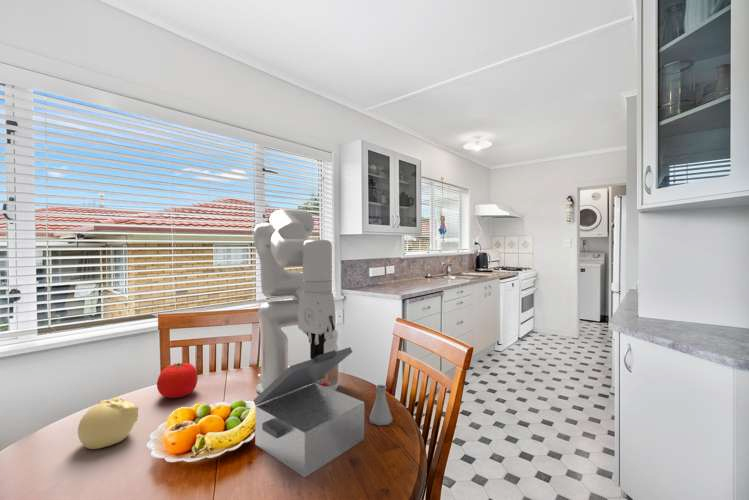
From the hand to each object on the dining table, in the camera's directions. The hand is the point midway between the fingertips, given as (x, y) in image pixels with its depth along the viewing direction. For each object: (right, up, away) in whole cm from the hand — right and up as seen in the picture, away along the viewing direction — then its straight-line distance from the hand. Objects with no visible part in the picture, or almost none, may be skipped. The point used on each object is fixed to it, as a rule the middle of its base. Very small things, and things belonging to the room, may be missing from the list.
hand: (317, 358), depth 88 cm
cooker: (-2, -23, +2) cm, 23 cm away
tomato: (-53, -23, +30) cm, 65 cm away
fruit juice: (-3, -23, +36) cm, 43 cm away
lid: (-3, -6, +3) cm, 7 cm away
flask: (+17, -23, +13) cm, 31 cm away
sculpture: (-55, -23, +2) cm, 60 cm away
